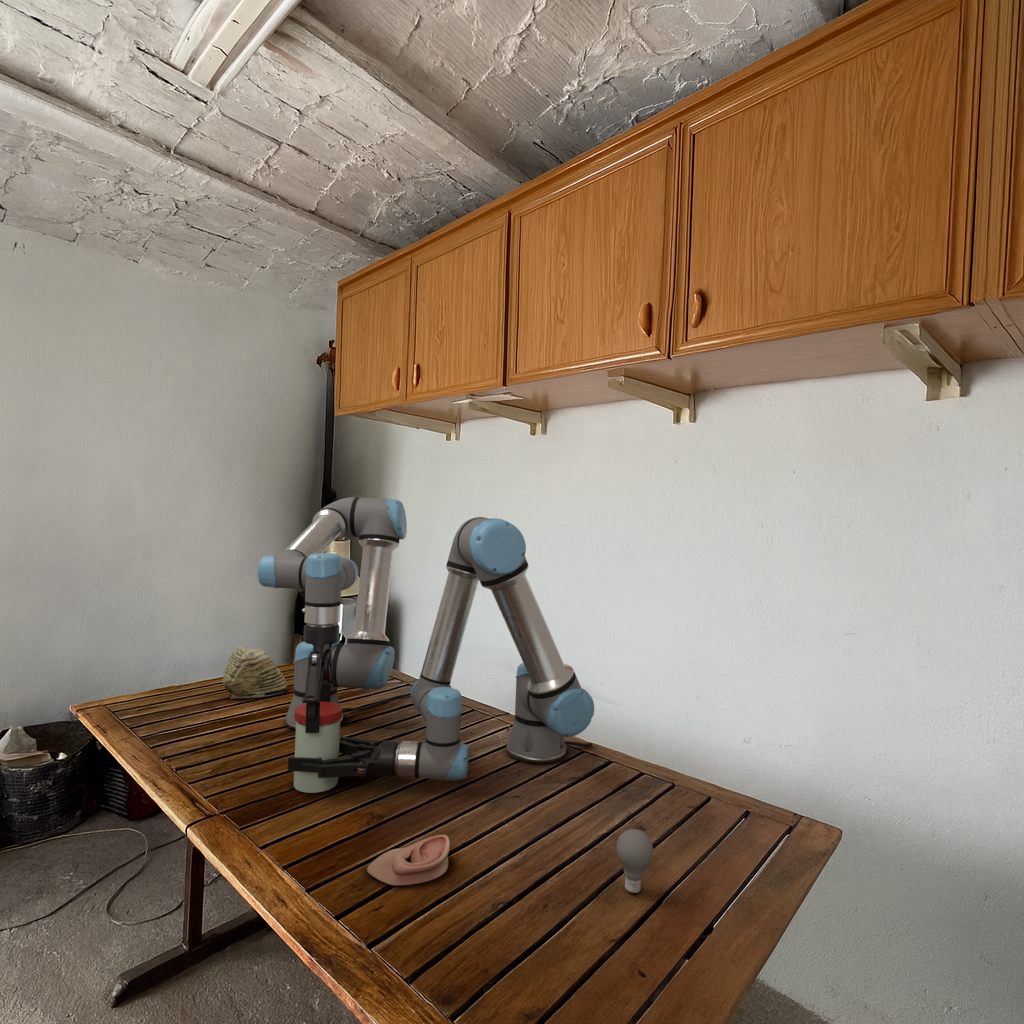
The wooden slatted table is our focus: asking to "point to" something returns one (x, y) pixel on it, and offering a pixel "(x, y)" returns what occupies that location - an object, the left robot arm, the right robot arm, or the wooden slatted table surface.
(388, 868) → the anatomical model
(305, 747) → the jar
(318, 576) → the left robot arm
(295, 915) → the wooden slatted table surface
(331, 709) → the lid
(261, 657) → the fossil
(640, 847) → the light bulb
